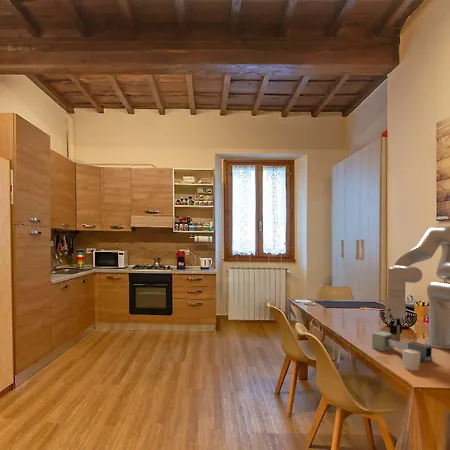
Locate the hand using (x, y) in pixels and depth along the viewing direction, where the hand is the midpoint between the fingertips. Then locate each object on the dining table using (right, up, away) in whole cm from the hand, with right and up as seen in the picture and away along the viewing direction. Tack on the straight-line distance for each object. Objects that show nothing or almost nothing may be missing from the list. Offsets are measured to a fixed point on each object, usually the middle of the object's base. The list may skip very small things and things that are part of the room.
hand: (395, 333), depth 179 cm
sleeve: (+6, -9, -10) cm, 14 cm away
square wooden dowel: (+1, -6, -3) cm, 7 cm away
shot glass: (-3, -8, -22) cm, 24 cm away
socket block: (-4, -9, +5) cm, 11 cm away
